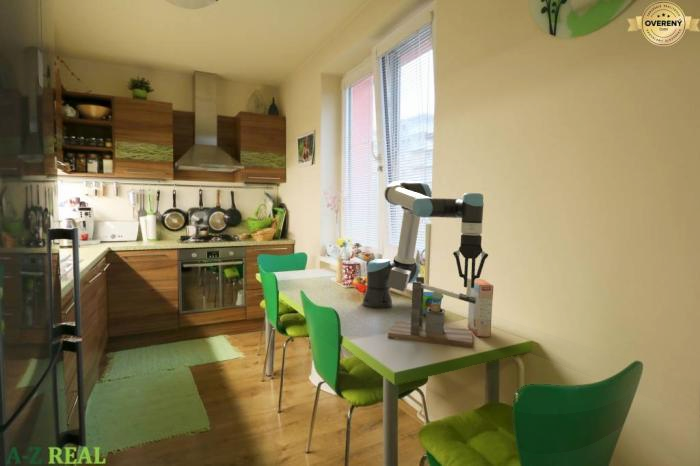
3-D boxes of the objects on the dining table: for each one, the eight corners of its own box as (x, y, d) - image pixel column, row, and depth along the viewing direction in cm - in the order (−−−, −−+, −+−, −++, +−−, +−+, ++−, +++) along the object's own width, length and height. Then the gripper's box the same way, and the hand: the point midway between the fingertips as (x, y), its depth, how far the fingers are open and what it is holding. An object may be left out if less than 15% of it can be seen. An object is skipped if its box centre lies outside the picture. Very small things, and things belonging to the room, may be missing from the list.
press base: (395, 326, 165) (396, 274, 163) (471, 334, 156) (473, 280, 155) (387, 337, 149) (389, 281, 148) (472, 347, 141) (475, 287, 139)
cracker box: (491, 337, 153) (494, 285, 152) (476, 337, 153) (478, 284, 152) (481, 327, 167) (483, 278, 166) (467, 326, 167) (469, 278, 166)
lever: (390, 282, 161) (394, 266, 160) (472, 307, 152) (477, 290, 151) (386, 286, 152) (390, 269, 151) (472, 313, 143) (477, 295, 142)
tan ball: (430, 311, 154) (431, 301, 154) (440, 312, 153) (441, 302, 153) (429, 313, 150) (430, 303, 150) (440, 314, 149) (440, 304, 149)
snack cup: (431, 310, 193) (431, 289, 193) (449, 314, 186) (450, 293, 185) (411, 315, 183) (412, 293, 182) (430, 320, 175) (431, 298, 174)
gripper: (453, 234, 145) (450, 296, 146) (490, 235, 141) (487, 299, 142) (453, 233, 152) (451, 292, 153) (488, 234, 148) (485, 295, 150)
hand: (468, 295), depth 148 cm, fingers closed
